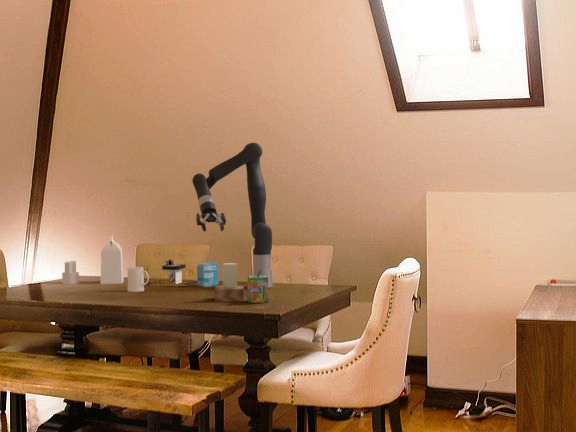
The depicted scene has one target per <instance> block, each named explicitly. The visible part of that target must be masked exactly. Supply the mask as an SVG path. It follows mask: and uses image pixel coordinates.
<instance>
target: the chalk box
mask: <svg viewBox="0 0 576 432" xmlns="http://www.w3.org/2000/svg"><path fill="white" fill-rule="evenodd" d="M259 274H260V269H259V272H258V275H257V276H253V275H247V281H246V282H247V288H246V289H247V294H246V295H247V297H246V299H247V302H248V304H267V303H266V302H268V303H269V288H268V277H267V276H259Z"/></svg>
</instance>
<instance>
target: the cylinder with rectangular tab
mask: <svg viewBox="0 0 576 432" xmlns="http://www.w3.org/2000/svg"><path fill="white" fill-rule="evenodd" d="M61 273H62V274H61V276H62V281H61V283H62V285H76V284H80V272H79V271H77V261H76V260H71V261H66V262H64V272H61Z"/></svg>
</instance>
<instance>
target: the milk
mask: <svg viewBox="0 0 576 432" xmlns="http://www.w3.org/2000/svg"><path fill="white" fill-rule="evenodd" d="M123 259H124V258H123V248H122V247H121V245H120V243H119V242H117V241H115V240H114V236H113V235H110V236H109V242H108V243H107V244H105V246H104V247H102V249H101V253H100V285H106V284H107V285H113V284H116V285H117V284H118V285H119V284H123V283H124V281H125V280H124V277H125V276H124V260H123Z"/></svg>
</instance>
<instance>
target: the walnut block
mask: <svg viewBox="0 0 576 432" xmlns="http://www.w3.org/2000/svg"><path fill="white" fill-rule="evenodd" d="M214 287H215V288H214V303H221V302H222V303H224V302H228V303H229V302H230V303H231V302H244V301H245V300H244V299H245V297H244V295H245V294H244V293H245V292H244V288H245V287H244V285H237V288H225V287H223V285H215V286H214Z"/></svg>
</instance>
